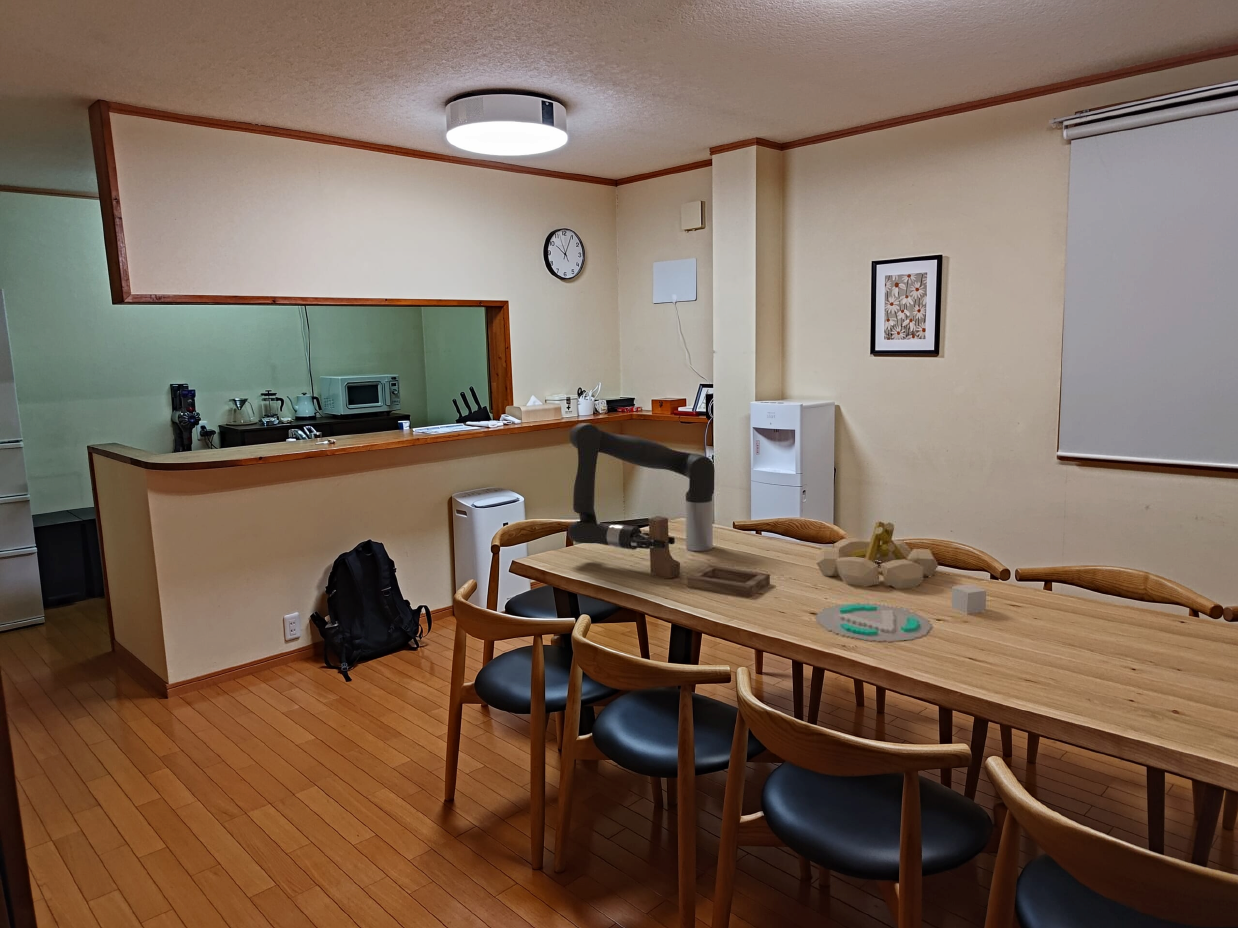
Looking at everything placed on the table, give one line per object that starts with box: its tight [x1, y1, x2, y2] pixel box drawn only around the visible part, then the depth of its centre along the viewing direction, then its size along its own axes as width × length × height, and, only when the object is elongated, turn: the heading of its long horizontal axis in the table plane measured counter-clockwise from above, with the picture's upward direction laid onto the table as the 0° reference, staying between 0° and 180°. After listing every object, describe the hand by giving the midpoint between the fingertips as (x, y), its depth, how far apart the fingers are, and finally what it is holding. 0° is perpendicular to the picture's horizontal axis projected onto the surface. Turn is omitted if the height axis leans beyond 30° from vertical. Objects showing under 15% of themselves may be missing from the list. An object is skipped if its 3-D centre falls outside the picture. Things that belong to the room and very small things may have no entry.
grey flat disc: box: [815, 602, 934, 643], centre depth 211 cm, size 28×28×2 cm
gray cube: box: [950, 583, 987, 615], centre depth 219 cm, size 6×6×6 cm
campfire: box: [815, 521, 939, 590], centre depth 253 cm, size 35×34×17 cm
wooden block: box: [648, 515, 681, 579], centre depth 255 cm, size 9×4×18 cm, turn 43°
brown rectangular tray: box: [686, 564, 771, 598], centre depth 245 cm, size 15×20×3 cm
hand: (669, 542), depth 255 cm, fingers closed on wooden block, 5 cm apart
